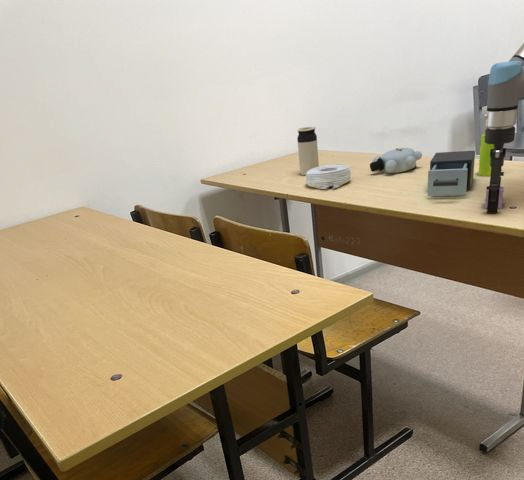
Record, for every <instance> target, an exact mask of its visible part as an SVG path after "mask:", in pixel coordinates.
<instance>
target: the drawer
mask: <svg viewBox="0 0 524 480" xmlns="http://www.w3.org/2000/svg"><path fill="white" fill-rule="evenodd" d="M467 175H468V162H466V163H446V164H435V165H434V167H433V168H432V170H430V169H428V171H427V197H449V196H452V197H454V196H467V191H466V188H467Z"/></svg>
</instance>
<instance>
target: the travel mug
mask: <svg viewBox="0 0 524 480" xmlns="http://www.w3.org/2000/svg"><path fill="white" fill-rule="evenodd" d="M296 131H297V133H298V135H297V138H296V139H297V150H298V160H299V161H298V162H299V173H300V175H301V176H306V174H307V171H309V170H310V169H313V168H315V167H319V165H320V164H319V149H318V148H319V147H318V136H317V133H316V127H315V126H305V127H299V128H297V129H296Z"/></svg>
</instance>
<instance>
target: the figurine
mask: <svg viewBox="0 0 524 480" xmlns="http://www.w3.org/2000/svg"><path fill="white" fill-rule="evenodd" d="M422 157H423V153H422V152H421V151H420V150H417V151H415V150H414V149H412V148H409V147H399V148H398V147H397V148H394V149H391V150H388V151H386V152H384V153H383V154H381V155H377V156H375V157H373V158H372V160H371V162H370V163H369V169H370V171H371V172H376V171H382V173H384V174H399V173H402V172H407V171H410V170H413V169H416V168H417V161H419V160H421V159H422Z"/></svg>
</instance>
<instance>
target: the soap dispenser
mask: <svg viewBox="0 0 524 480" xmlns="http://www.w3.org/2000/svg"><path fill="white" fill-rule="evenodd" d="M487 128H488V127H487V126H486V125H485V130H486V129H487ZM484 138H485V133H482V134H481V135H480V147H479V159H478V160H479V163H478V175H479V176H482V177H488V176H489V177H490V176H491V166H490V159H491V158H490V151H491V149H494V144H486V143H485V142H484Z"/></svg>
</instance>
